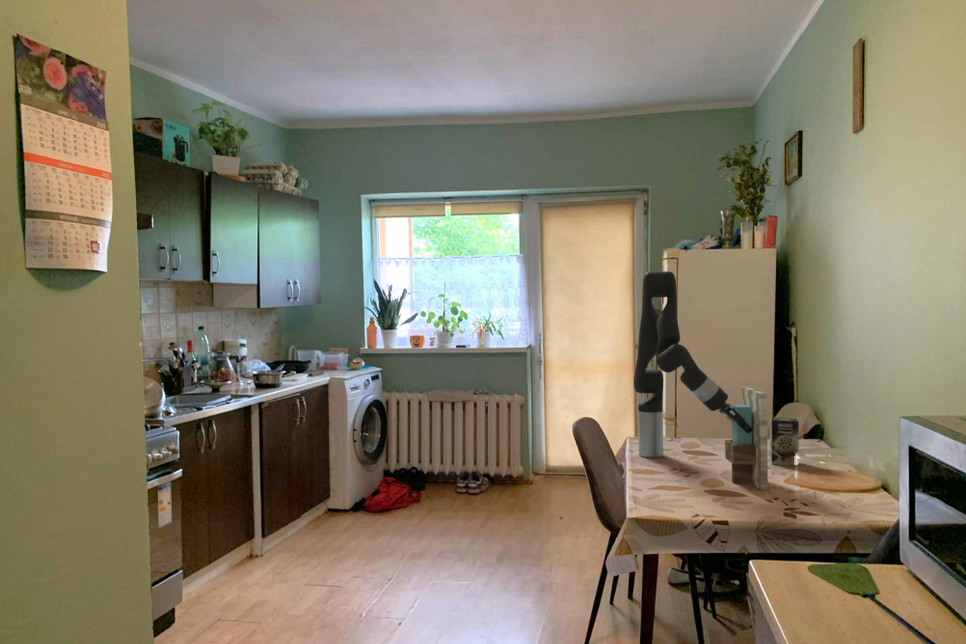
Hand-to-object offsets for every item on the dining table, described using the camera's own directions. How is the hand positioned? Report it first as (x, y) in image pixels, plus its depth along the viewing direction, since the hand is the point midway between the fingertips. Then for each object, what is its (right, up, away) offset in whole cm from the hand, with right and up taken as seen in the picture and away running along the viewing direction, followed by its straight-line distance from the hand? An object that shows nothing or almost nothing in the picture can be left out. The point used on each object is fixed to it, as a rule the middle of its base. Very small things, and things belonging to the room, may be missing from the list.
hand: (747, 429), depth 217 cm
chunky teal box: (-2, -7, 0) cm, 7 cm away
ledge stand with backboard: (-1, -17, 0) cm, 17 cm away
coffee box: (+23, -16, +25) cm, 38 cm away
